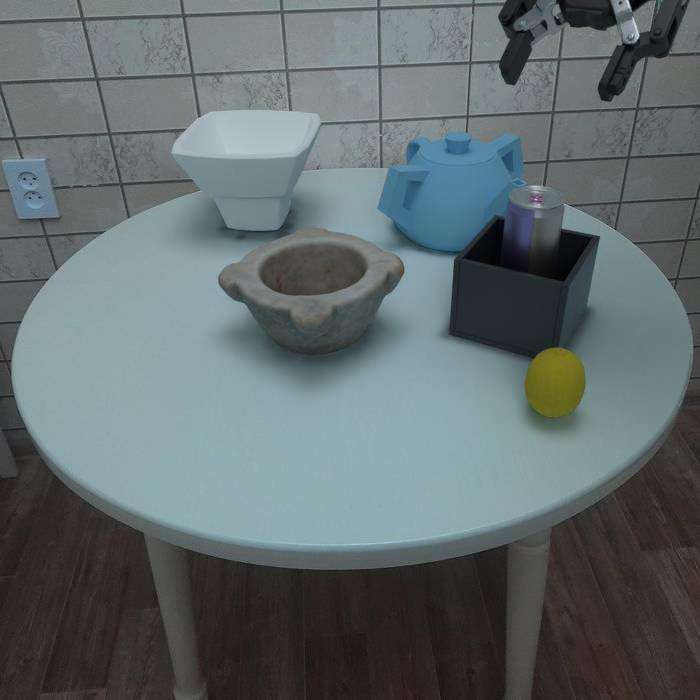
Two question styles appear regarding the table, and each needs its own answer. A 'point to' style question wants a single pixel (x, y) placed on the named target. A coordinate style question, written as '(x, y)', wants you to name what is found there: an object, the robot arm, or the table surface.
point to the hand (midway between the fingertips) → (553, 87)
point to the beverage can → (532, 230)
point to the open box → (520, 293)
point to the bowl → (248, 162)
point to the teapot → (451, 188)
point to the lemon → (555, 382)
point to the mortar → (313, 287)
